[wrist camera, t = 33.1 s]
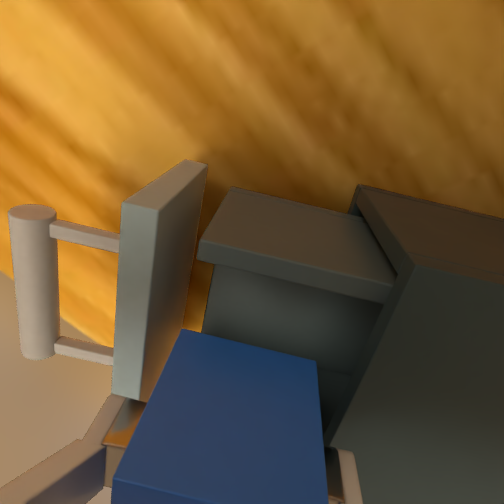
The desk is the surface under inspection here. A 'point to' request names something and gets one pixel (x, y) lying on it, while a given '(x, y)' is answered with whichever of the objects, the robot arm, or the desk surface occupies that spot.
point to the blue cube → (227, 429)
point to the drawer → (222, 283)
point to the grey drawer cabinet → (430, 359)
